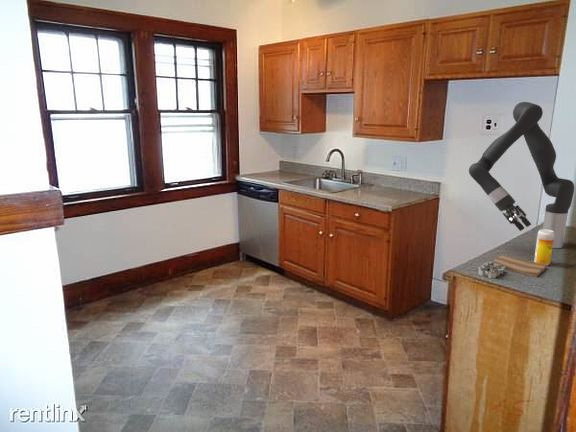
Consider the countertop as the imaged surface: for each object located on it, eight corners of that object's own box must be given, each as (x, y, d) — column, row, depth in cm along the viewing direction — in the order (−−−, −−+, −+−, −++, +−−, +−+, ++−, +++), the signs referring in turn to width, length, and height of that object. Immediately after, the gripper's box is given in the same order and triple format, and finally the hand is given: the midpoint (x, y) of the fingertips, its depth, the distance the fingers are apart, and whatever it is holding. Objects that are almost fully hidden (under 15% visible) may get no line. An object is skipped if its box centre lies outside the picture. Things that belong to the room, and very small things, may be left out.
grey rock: (493, 280, 164) (494, 270, 163) (475, 274, 170) (476, 265, 169) (506, 273, 170) (507, 264, 169) (488, 268, 176) (489, 259, 175)
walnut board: (501, 258, 186) (501, 255, 186) (546, 268, 174) (546, 265, 173) (490, 265, 178) (490, 262, 177) (536, 277, 165) (536, 273, 165)
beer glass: (552, 266, 176) (557, 233, 172) (536, 265, 177) (541, 232, 173) (546, 261, 181) (551, 229, 178) (531, 260, 182) (536, 228, 179)
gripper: (502, 196, 179) (527, 226, 174) (514, 191, 188) (538, 219, 183) (488, 206, 184) (513, 235, 179) (500, 201, 193) (524, 229, 188)
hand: (525, 227), depth 181 cm, fingers open, 8 cm apart
